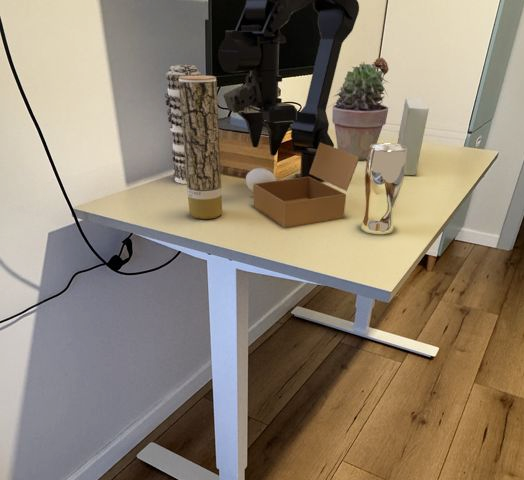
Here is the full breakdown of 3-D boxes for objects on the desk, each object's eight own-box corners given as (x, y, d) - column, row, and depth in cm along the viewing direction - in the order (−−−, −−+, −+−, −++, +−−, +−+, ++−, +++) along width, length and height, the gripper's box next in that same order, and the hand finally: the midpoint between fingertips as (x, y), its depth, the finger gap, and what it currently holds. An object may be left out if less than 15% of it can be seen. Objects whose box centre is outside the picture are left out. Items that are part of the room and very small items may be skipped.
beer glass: (356, 222, 98) (365, 142, 90) (391, 223, 98) (404, 142, 90) (361, 235, 92) (371, 150, 84) (398, 235, 92) (412, 151, 84)
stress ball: (278, 208, 115) (287, 181, 115) (264, 196, 108) (274, 167, 108) (251, 202, 119) (260, 175, 118) (235, 189, 111) (245, 161, 111)
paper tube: (209, 222, 98) (200, 79, 84) (182, 216, 101) (170, 77, 87) (228, 213, 103) (223, 76, 89) (203, 207, 106) (194, 74, 92)
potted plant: (310, 159, 142) (315, 59, 128) (341, 147, 156) (349, 55, 142) (367, 168, 134) (379, 62, 120) (395, 154, 147) (409, 58, 133)
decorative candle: (169, 176, 126) (157, 64, 112) (204, 173, 129) (197, 63, 115) (177, 186, 119) (166, 67, 105) (214, 182, 122) (208, 66, 108)
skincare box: (417, 176, 127) (429, 108, 118) (396, 175, 128) (406, 107, 119) (413, 157, 144) (423, 97, 135) (394, 156, 145) (403, 96, 136)
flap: (319, 142, 106) (320, 142, 106) (309, 173, 108) (310, 173, 108) (358, 156, 95) (360, 156, 95) (345, 190, 97) (346, 191, 98)
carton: (253, 206, 106) (253, 183, 104) (308, 198, 111) (309, 176, 109) (284, 227, 96) (285, 203, 93) (343, 217, 100) (346, 194, 98)
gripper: (210, 67, 104) (214, 146, 113) (246, 75, 90) (247, 164, 99) (258, 66, 108) (258, 142, 117) (300, 73, 94) (296, 158, 103)
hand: (264, 151), depth 108 cm, fingers open, 9 cm apart
